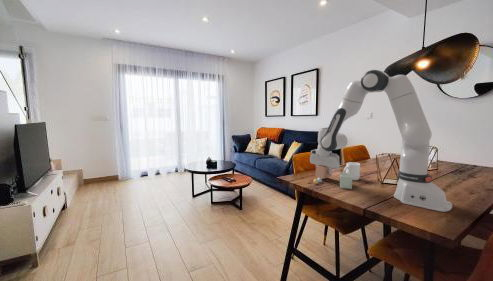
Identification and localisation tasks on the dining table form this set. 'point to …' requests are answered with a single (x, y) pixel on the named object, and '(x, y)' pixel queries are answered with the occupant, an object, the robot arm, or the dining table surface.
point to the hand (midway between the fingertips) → (323, 172)
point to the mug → (353, 170)
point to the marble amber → (315, 181)
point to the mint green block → (345, 180)
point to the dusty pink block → (322, 171)
